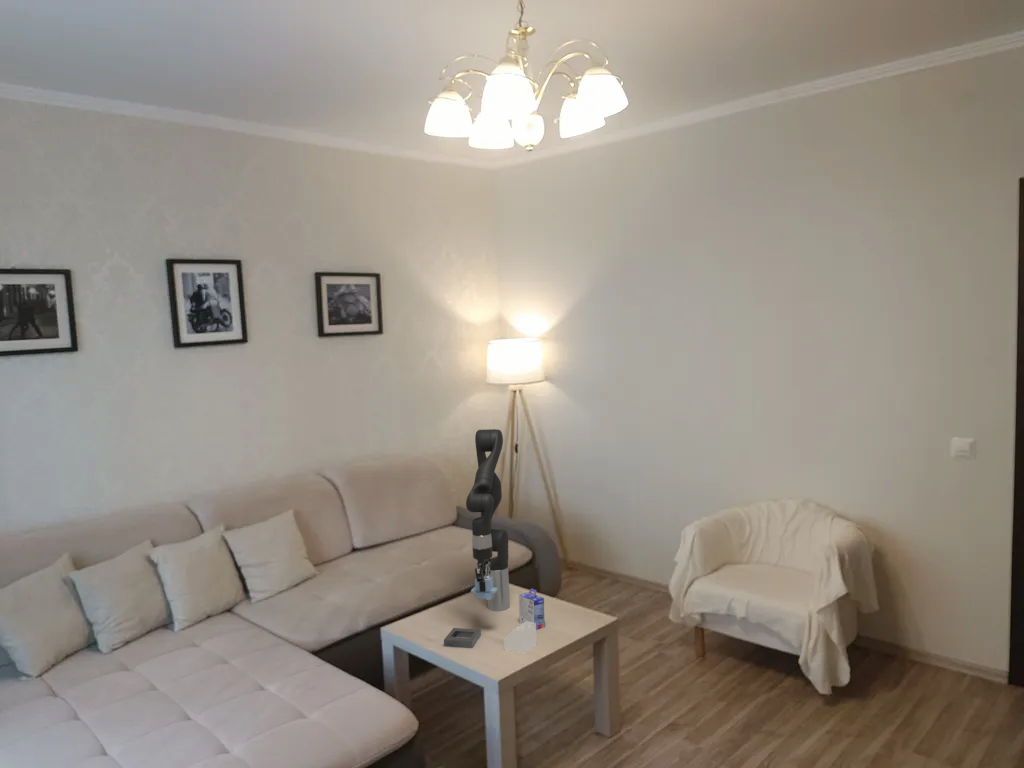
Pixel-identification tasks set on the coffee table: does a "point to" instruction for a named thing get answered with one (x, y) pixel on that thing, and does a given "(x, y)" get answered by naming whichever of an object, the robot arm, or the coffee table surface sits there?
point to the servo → (489, 589)
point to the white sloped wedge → (521, 638)
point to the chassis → (466, 642)
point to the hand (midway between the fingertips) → (484, 589)
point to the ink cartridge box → (531, 609)
